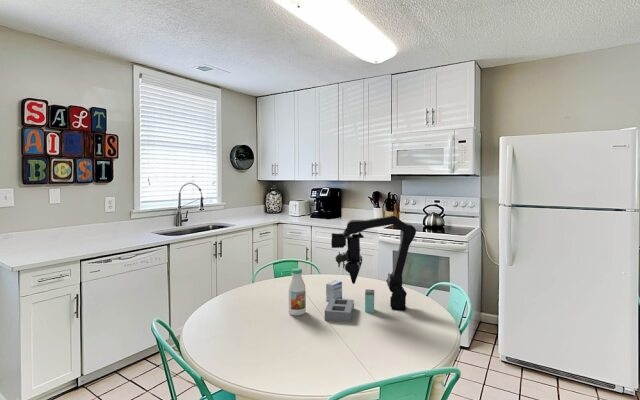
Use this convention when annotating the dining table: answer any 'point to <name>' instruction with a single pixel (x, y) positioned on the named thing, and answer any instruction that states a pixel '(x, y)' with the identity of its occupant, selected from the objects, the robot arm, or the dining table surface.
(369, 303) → the plug
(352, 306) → the socket plate
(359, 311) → the dining table surface
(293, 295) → the milk bottle
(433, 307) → the dining table surface
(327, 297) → the medicine box
